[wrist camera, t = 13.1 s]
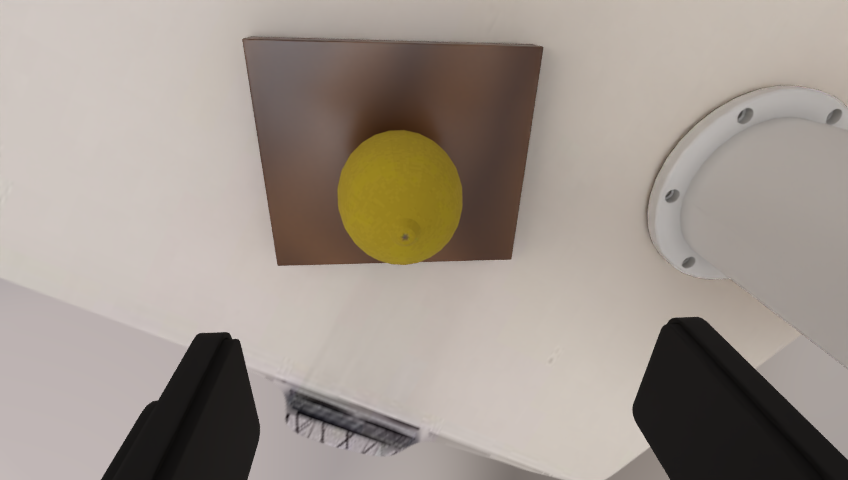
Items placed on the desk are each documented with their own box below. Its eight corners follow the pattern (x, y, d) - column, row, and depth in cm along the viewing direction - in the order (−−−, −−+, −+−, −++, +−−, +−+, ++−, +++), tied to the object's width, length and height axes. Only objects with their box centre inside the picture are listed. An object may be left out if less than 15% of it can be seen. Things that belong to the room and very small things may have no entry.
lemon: (370, 93, 21) (368, 137, 14) (466, 143, 22) (508, 205, 15) (326, 188, 23) (305, 269, 16) (417, 228, 25) (434, 316, 18)
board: (533, 44, 22) (543, 46, 21) (504, 247, 28) (511, 259, 26) (250, 36, 20) (241, 38, 19) (282, 253, 26) (277, 266, 25)
